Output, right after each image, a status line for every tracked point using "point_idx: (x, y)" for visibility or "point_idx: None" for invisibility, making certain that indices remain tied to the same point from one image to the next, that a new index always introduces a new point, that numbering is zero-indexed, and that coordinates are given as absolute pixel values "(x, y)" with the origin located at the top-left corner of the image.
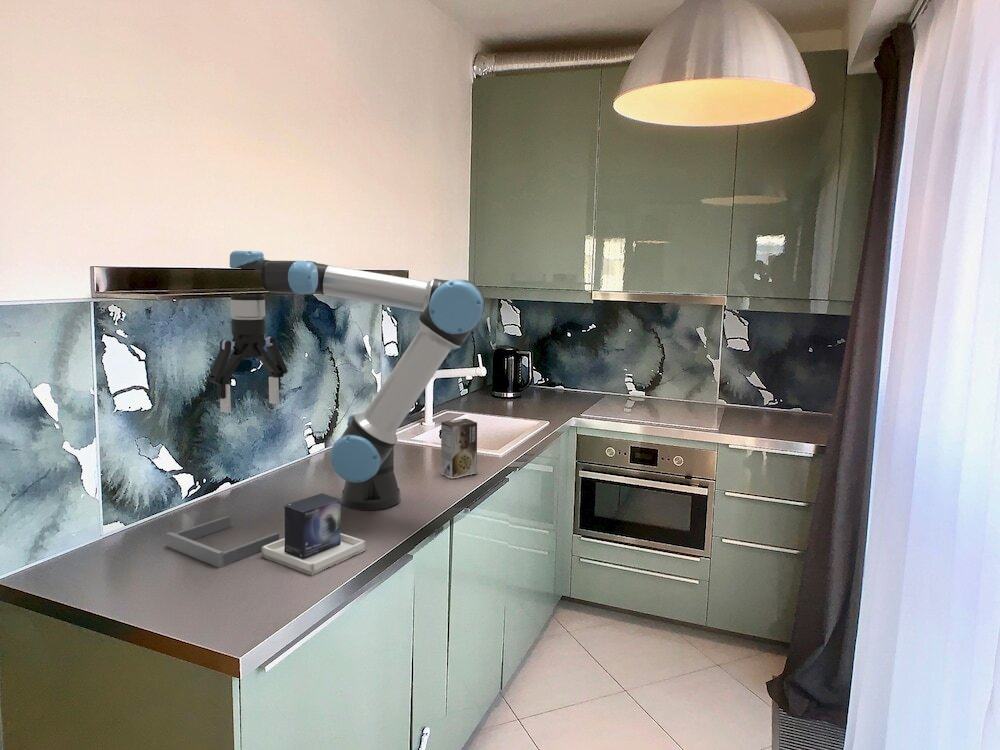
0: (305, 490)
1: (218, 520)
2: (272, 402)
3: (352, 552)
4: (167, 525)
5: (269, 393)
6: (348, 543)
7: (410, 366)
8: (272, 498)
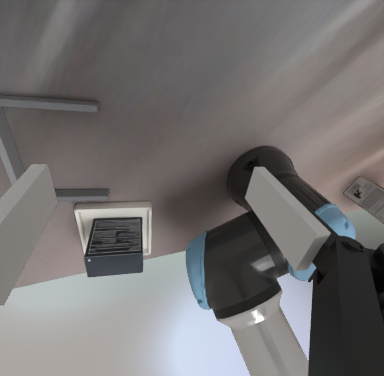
0: (267, 79)
1: (76, 110)
2: (251, 183)
3: None
4: (21, 2)
5: (270, 188)
6: (147, 237)
7: None
8: (217, 62)
